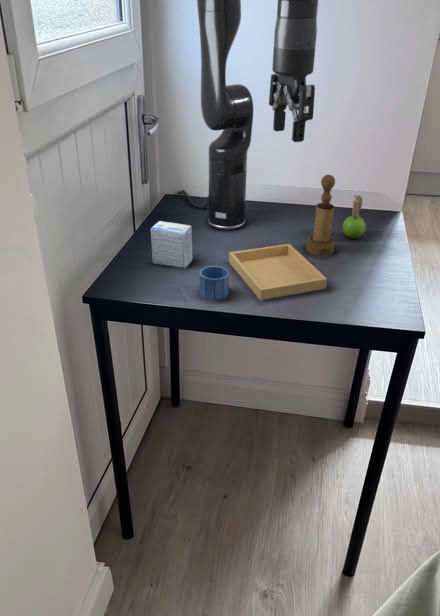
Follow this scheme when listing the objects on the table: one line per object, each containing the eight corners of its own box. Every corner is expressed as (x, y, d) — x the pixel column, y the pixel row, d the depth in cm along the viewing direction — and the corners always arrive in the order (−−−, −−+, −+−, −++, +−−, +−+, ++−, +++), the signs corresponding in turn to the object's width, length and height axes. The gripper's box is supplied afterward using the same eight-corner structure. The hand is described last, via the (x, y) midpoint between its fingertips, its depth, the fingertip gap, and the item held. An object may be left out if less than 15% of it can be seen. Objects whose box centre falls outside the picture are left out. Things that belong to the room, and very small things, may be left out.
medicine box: (192, 261, 125) (192, 225, 121) (185, 270, 122) (184, 233, 117) (160, 255, 127) (158, 220, 123) (152, 264, 124) (150, 227, 119)
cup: (195, 290, 114) (195, 268, 112) (223, 285, 116) (223, 264, 113) (204, 303, 110) (204, 281, 107) (232, 298, 111) (233, 276, 109)
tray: (228, 263, 125) (229, 252, 123) (288, 254, 129) (289, 243, 128) (260, 302, 111) (260, 290, 109) (325, 290, 115) (327, 278, 113)
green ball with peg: (338, 241, 135) (344, 193, 129) (343, 231, 140) (350, 185, 134) (361, 245, 134) (368, 196, 127) (365, 235, 139) (373, 188, 132)
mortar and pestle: (333, 258, 127) (343, 181, 118) (304, 255, 128) (312, 179, 119) (334, 246, 133) (344, 171, 123) (306, 243, 134) (314, 169, 124)
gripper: (332, 49, 97) (322, 143, 105) (295, 40, 108) (289, 126, 117) (293, 50, 95) (286, 147, 103) (259, 41, 106) (256, 128, 115)
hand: (287, 135), depth 110 cm, fingers open, 8 cm apart
